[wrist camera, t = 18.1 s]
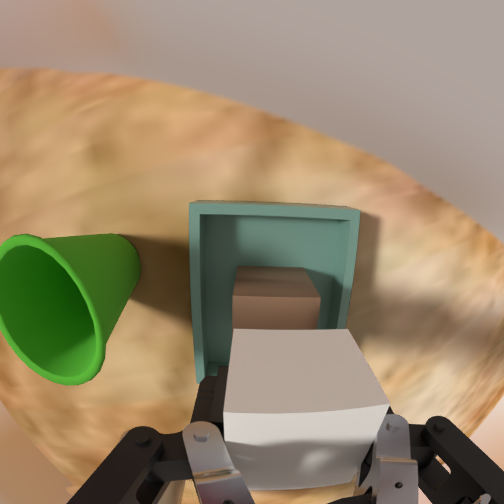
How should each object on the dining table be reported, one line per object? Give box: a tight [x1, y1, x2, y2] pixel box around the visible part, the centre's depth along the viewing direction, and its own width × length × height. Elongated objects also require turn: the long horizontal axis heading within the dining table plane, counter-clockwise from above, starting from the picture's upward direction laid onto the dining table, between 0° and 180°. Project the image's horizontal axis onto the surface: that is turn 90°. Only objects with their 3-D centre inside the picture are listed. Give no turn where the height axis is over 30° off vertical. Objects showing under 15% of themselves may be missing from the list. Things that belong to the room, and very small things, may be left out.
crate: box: [189, 200, 360, 384], centre depth 22 cm, size 14×11×3 cm
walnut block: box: [232, 265, 321, 338], centre depth 20 cm, size 5×5×6 cm
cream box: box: [223, 329, 390, 490], centre depth 10 cm, size 5×5×5 cm
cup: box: [0, 234, 141, 385], centre depth 17 cm, size 9×9×11 cm
